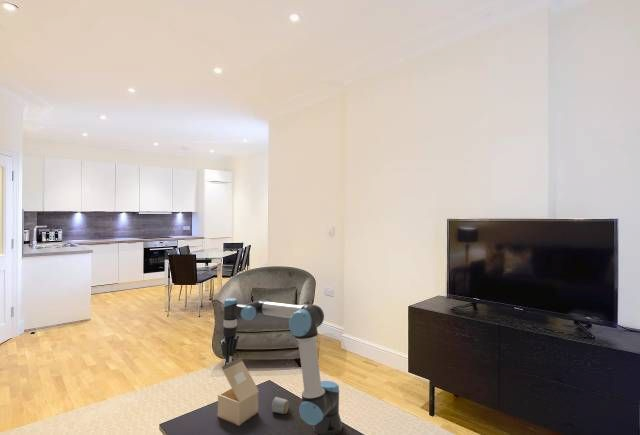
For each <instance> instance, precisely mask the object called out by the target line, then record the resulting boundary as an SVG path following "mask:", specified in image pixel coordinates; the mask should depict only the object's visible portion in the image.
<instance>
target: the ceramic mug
mask: <svg viewBox="0 0 640 435" xmlns="http://www.w3.org/2000/svg"><path fill="white" fill-rule="evenodd" d="M289 408H290V401H289V400H288V399H286V398H281V397H278V396H275V397H274V399H273V400H272V402H271V412H273V413H277V414H281V415H286V414H287V413H288V411H289Z"/></svg>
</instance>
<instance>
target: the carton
mask: <svg viewBox="0 0 640 435" xmlns="http://www.w3.org/2000/svg"><path fill="white" fill-rule="evenodd" d="M258 413H259V391H258V392H257V393H255V394H253V395H252V396H250V397H248V398H247V399H245V400H243V401H242V402H240V403H239V401H238V399H237V397H236V395H235V393H234V391H233V389H232V387H230V388H228V389H226V390H224V391H223V392H221V393H219V394H217V417H218V418H220V419H222V420H225V421H226V422H229V423H230V424H231V423H232V424H233V425H236V426H241V425H243V423H244V424H245V423H246V422H247V421H248V420H250V419H251V418H253V417H254V416H255V415H257V414H258Z"/></svg>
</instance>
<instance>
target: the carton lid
mask: <svg viewBox="0 0 640 435" xmlns="http://www.w3.org/2000/svg"><path fill="white" fill-rule="evenodd" d="M220 368H221V370H222V372H223V374H224V376H225V377H226V380H227V382H228V384H229V386H230V388H232V389H233V391H234V393H235V395H236V397H237V399H238V401H239V403H240V402H242V401H243V400H245V399H247V398H248V397H250V396H252V395H253V394H255V393H257V392H258V393H259V391H260V390H259V388H258V386H257V385H256V383H255V381H254V379H253V377H252V376H251V374H250V372H249V370H248V368H247V366H246V365H245V363H244V361H243V359H242V357H239V358H238V359H235V360H232V362H230V363H228V364H226V363H225V364H224V365H222V366H220Z"/></svg>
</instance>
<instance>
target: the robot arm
mask: <svg viewBox="0 0 640 435" xmlns="http://www.w3.org/2000/svg"><path fill="white" fill-rule="evenodd" d="M238 301H239V300H238V299H237V298H234V297H229V298H226V299H224V302H223V323H222V325H223V327H222V333H223V338H222V340H220V341H219V344H220V347H221V352H222V356H223V357H225V365H226V364H228V363H230V362H233V357H234V356H235V354H236V351H237V345H238V341H239V339H240V336H239V335H237V330H238V329H237V328H238V319H243V320H245V321H252V320H253V319H254V318H255V317H256V316H257V315H263V316H265V315H267V316H272V317H273V316H274V317H277V318H278V317H279V318H287V319H289V320H288V327H289V330H290V332H291V333H292V335H293V336H294V339H295V340H297V342H298V349H299V357H300V366H301V373H302V374H301V375H302V383H303V391H302V392H301V400H302V401H301V403H300V405H299V407H298V412H299V416H300V418H301V420H303V421H304V423H306V424H308V425H310V426H313V427H312V429H313V430H314V432H315V433H316V434H318V435H338V434H340V433H341V432H342V429H343V423H342V418H341V416H340V386H339V384H337V383H336V382H335V381H332V380H331V381H330V380H321V375H320V374H321V373H320V365H319V359H318V358H319V357H318V356H319V355H318V351H317V342H316V338H317V337H318V335H319V332H318V328H319V327H320V326H321V325H322V324H323V322H324V320H325V313H324V310H323V309H322V308H321V307H320V306H318V305H316V304H310V303H309V304H308V303H304V304H302V305H299V304H294V303H293V304H291V303H282V302H274V301H268V300H267V299H258V300H255V301H252V302H248V303H246V304H241V303H239V302H238Z"/></svg>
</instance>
